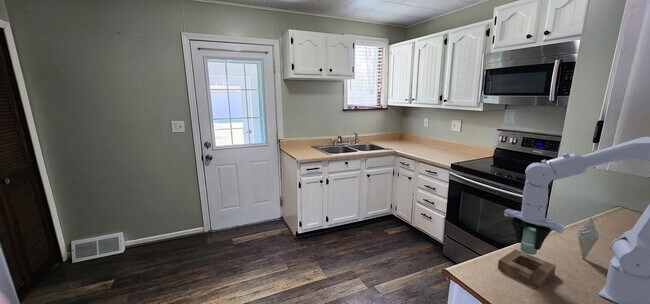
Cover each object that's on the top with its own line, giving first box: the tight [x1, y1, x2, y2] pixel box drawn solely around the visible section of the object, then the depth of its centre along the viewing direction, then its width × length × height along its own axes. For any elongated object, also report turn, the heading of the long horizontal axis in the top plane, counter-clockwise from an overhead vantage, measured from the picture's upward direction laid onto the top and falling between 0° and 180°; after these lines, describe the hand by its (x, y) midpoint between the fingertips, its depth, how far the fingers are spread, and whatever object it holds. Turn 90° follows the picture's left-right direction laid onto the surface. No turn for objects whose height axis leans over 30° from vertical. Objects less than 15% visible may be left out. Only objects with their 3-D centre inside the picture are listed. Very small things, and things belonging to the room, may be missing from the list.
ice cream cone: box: [576, 217, 600, 260], centre depth 88 cm, size 5×5×15 cm
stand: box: [497, 248, 557, 289], centre depth 84 cm, size 11×11×3 cm
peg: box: [519, 226, 538, 256], centre depth 82 cm, size 4×4×7 cm
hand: (528, 245), depth 82 cm, fingers closed on peg, 4 cm apart
